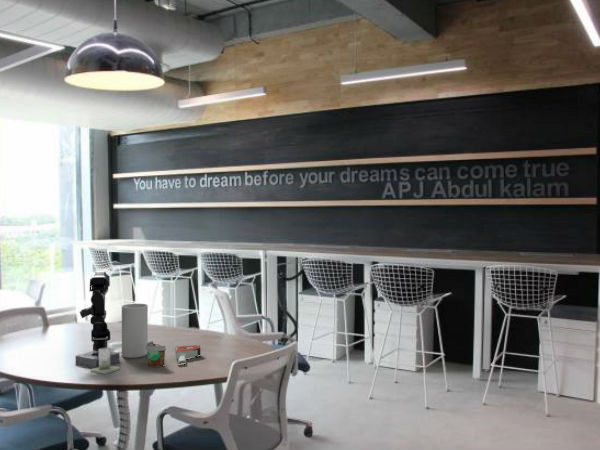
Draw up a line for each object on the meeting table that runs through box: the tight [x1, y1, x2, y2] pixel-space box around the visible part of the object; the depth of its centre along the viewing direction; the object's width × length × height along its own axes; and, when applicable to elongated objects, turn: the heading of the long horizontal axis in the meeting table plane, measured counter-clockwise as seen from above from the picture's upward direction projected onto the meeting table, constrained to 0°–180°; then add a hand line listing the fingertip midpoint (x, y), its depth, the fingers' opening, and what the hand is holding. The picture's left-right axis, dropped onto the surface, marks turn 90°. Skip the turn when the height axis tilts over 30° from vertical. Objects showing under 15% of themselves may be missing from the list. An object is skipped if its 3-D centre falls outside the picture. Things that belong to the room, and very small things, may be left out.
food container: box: [146, 340, 167, 367], centre depth 265 cm, size 12×6×10 cm, turn 45°
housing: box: [75, 349, 120, 369], centre depth 269 cm, size 14×14×4 cm
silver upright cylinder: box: [99, 346, 111, 370], centre depth 257 cm, size 5×5×9 cm
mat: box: [90, 365, 121, 375], centre depth 257 cm, size 9×9×1 cm
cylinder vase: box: [121, 303, 149, 359], centre depth 283 cm, size 12×12×25 cm
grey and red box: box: [174, 344, 201, 364], centre depth 277 cm, size 18×5×20 cm
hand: (98, 333), depth 274 cm, fingers open, 9 cm apart
